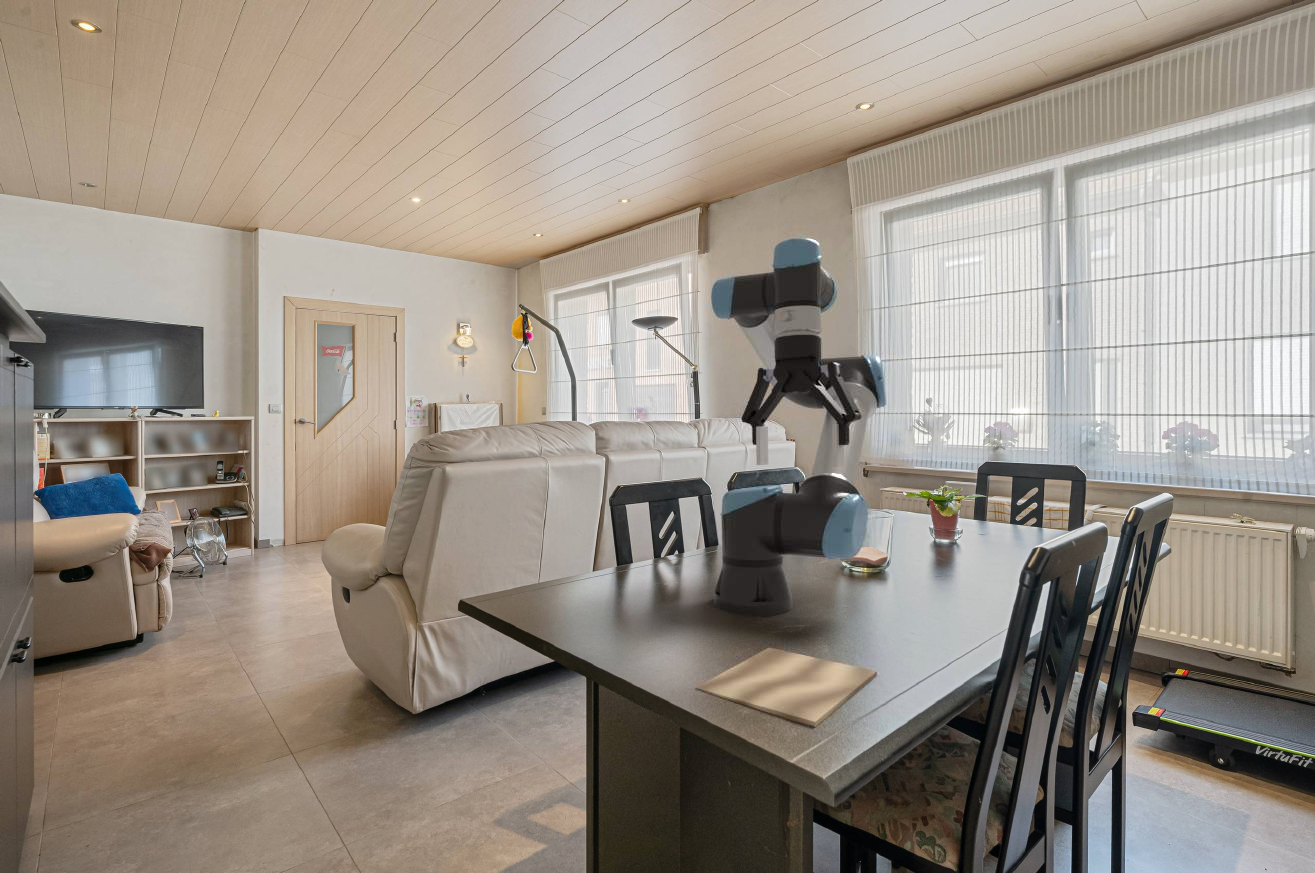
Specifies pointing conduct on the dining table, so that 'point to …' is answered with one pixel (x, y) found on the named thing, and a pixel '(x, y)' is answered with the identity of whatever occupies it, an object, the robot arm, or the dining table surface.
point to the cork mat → (790, 685)
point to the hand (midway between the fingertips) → (799, 465)
